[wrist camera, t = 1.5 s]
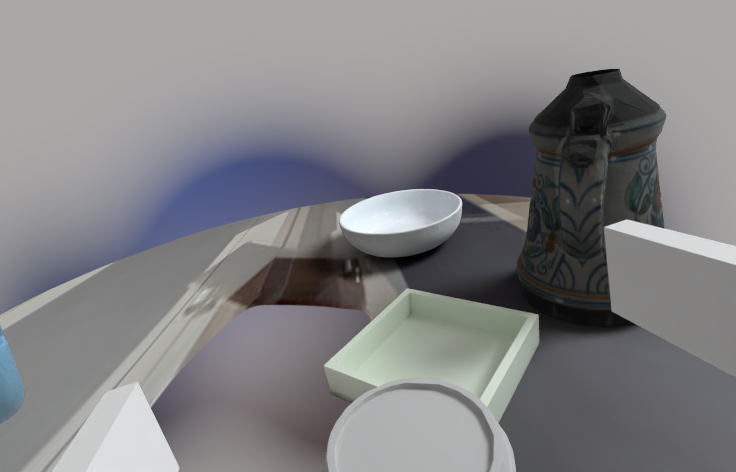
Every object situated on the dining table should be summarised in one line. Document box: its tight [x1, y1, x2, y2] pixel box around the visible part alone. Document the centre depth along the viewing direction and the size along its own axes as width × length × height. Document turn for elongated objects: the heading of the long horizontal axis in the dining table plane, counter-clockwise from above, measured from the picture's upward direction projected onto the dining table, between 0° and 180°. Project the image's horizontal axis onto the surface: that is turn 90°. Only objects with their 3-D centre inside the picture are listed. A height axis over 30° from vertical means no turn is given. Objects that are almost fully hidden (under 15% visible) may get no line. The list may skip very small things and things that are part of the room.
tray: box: [324, 288, 539, 423], centre depth 42 cm, size 16×16×4 cm
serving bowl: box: [339, 189, 462, 257], centre depth 72 cm, size 21×21×7 cm
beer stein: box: [517, 69, 666, 327], centre depth 45 cm, size 16×19×25 cm
